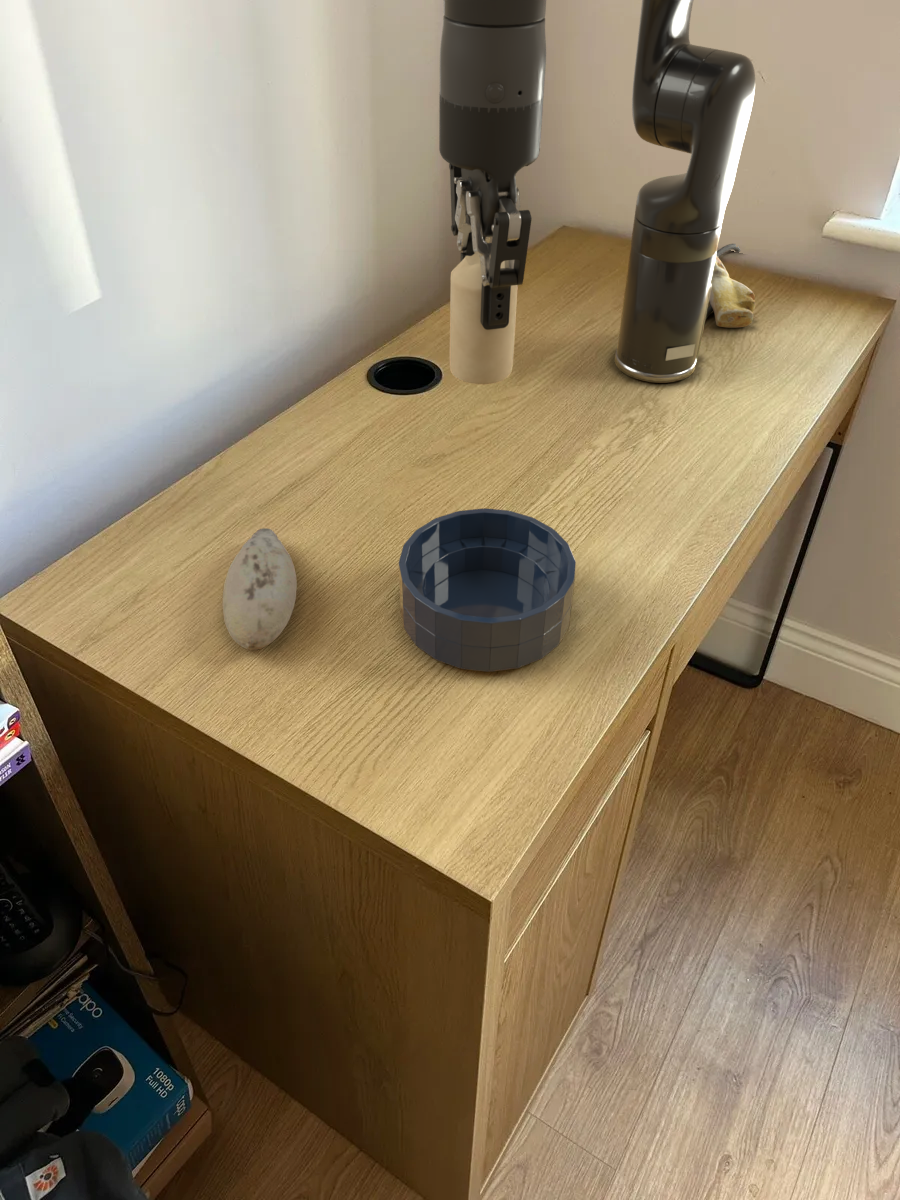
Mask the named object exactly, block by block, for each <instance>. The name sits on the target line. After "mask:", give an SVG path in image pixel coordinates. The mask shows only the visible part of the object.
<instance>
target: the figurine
mask: <svg viewBox="0 0 900 1200" xmlns="http://www.w3.org/2000/svg"><path fill="white" fill-rule="evenodd" d="M711 284H712V288H711V293H710V298H709V305H710V304H711V306H712V308H713V313H714V319H715V325H716V326H717V327H719V328H733V329H734V328H736V329H737V328H745V327H748V326H749V325H751V324H752V322H753V319H754V317H755V316H754V315H755V314H754V311H755V308H756V295H755V292H754V291H753V290H751V288H749V287H748V286H747V285H745V284H743V283H742V282H739V281H737V280H735V279H732V278H730V274H729V272H728V271H727V269H726V267H725V265H724V264H723V261H721V259H720V258H719V257H717V256H716V258H715V263H714V268H713V273H712V279H711Z"/></svg>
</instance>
